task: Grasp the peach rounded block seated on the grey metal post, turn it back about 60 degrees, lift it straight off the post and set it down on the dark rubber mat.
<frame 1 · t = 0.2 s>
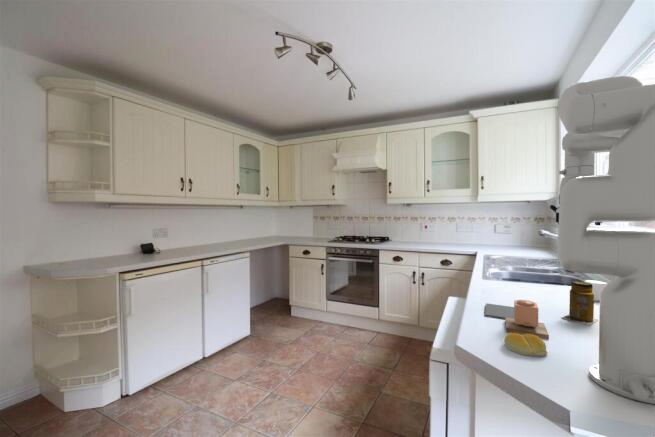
hand: (578, 224, 98), 31 cm above the countertop, tool pointing down, fingers open, 9 cm apart
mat: (508, 313, 102), on the countertop
condiment: (579, 320, 97), on the countertop
bread roll: (525, 350, 76), on the countertop
shot glass: (595, 299, 120), on the countertop
post: (525, 316, 88), on the post base, point 4 cm above the countertop
peach rounded block: (525, 322, 88), point 2 cm above the countertop, touching post
post base: (525, 329, 88), on the countertop
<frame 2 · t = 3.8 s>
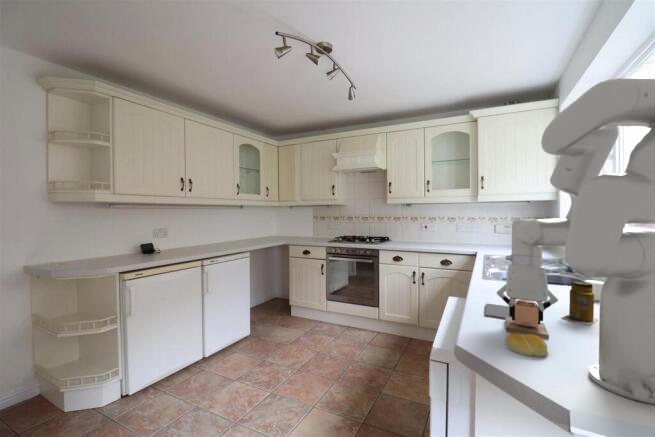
hand: (525, 320, 88), 3 cm above the countertop, tool pointing down, fingers closed on peach rounded block, 5 cm apart
peach rounded block: (525, 322, 88), point 2 cm above the countertop, touching gripper, post
everything else where it was.
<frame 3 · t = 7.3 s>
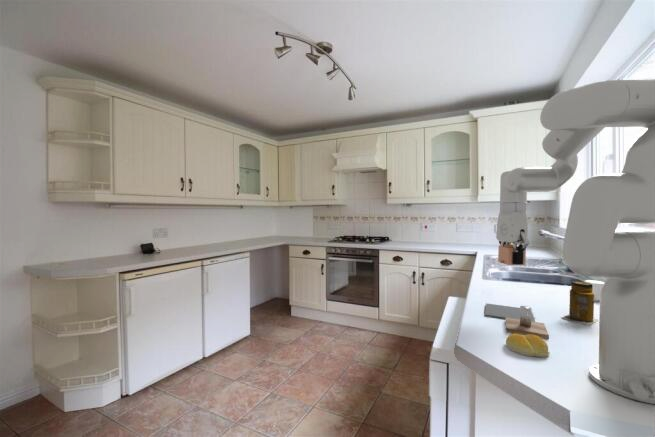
hand: (511, 261, 99), 18 cm above the countertop, tool pointing down, fingers closed on peach rounded block, 5 cm apart
peach rounded block: (511, 263, 99), point 18 cm above the countertop, touching gripper
everything else where it was.
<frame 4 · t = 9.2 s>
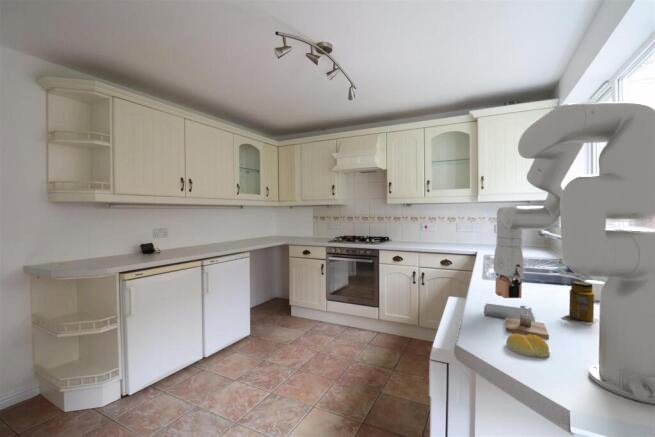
hand: (508, 294, 103), 7 cm above the countertop, tool pointing down, fingers closed on peach rounded block, 5 cm apart
peach rounded block: (507, 295, 103), point 6 cm above the countertop, touching gripper
everything else where it was.
when the fingers open (3 cm above the countertop, at t = 10.7 s): peach rounded block drops 2 cm, resting on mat.
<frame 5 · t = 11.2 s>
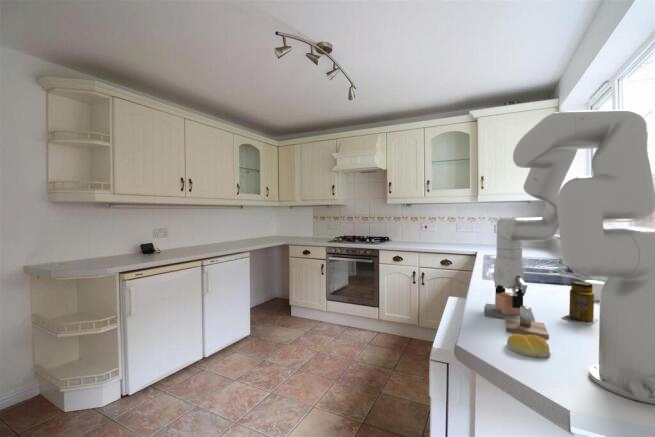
hand: (508, 303, 102), 4 cm above the countertop, tool pointing down, fingers open, 9 cm apart
peach rounded block: (507, 311, 103), point 1 cm above the countertop, touching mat
everything else where it was.
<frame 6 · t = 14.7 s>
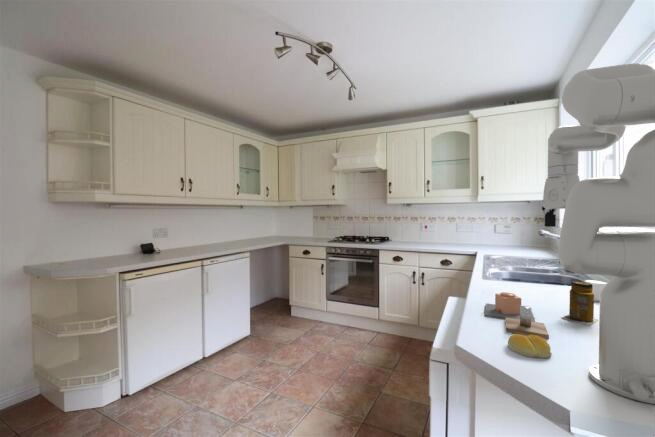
hand: (561, 227, 93), 30 cm above the countertop, tool pointing down, fingers open, 9 cm apart
nothing on the countertop moved.
at the end: peach rounded block inside the target area on the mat (0.3 cm from its centre), point 0.6 cm above the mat's base; peach rounded block tilted 0°; the gripper is holding nothing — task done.
